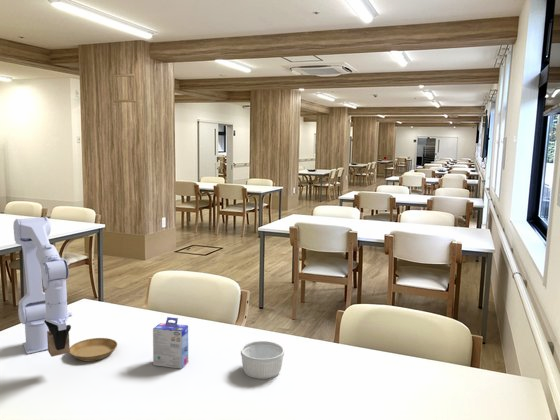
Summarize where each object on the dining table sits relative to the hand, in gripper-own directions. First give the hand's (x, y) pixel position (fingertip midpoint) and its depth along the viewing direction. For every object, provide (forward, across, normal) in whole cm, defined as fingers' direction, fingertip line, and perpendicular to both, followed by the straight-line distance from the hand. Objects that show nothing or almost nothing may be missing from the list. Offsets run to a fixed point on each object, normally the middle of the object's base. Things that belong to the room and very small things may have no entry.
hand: (58, 345), depth 138 cm
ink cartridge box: (+9, -12, -30) cm, 34 cm away
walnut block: (+2, 0, 0) cm, 2 cm away
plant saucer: (+9, +9, -12) cm, 18 cm away
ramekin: (+9, -32, -51) cm, 61 cm away
